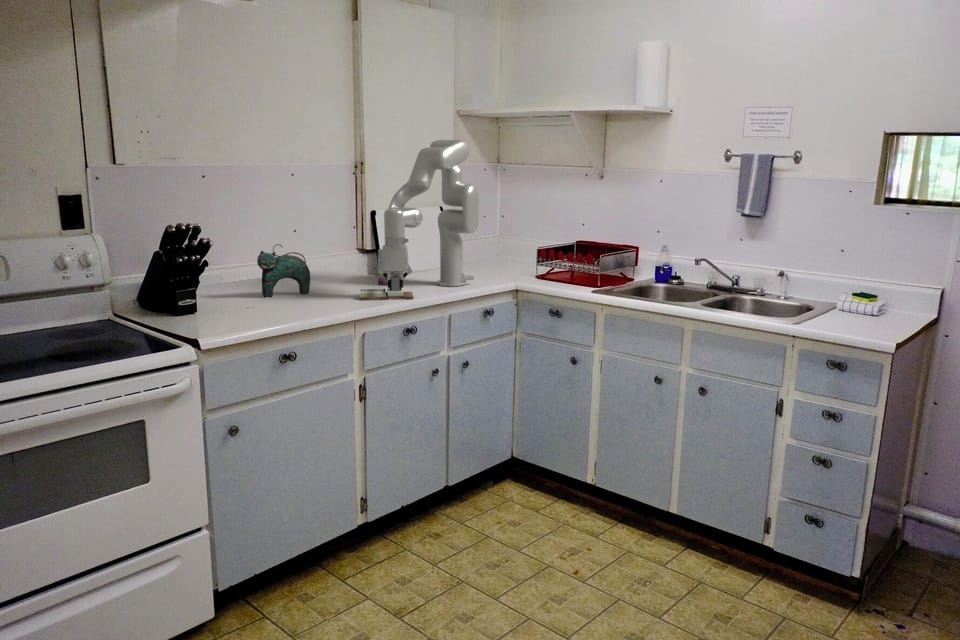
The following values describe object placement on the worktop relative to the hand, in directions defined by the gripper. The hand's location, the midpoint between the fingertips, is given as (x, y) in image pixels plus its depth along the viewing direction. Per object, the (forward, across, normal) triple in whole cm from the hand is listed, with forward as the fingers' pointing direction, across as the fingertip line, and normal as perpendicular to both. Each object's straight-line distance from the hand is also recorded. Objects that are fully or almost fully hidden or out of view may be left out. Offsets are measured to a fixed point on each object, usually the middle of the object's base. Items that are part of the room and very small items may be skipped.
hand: (395, 289), depth 280 cm
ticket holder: (+3, +3, 0) cm, 5 cm away
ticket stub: (+2, 0, 0) cm, 2 cm away
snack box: (+3, 0, -37) cm, 37 cm away
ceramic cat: (+3, +42, -8) cm, 43 cm away
